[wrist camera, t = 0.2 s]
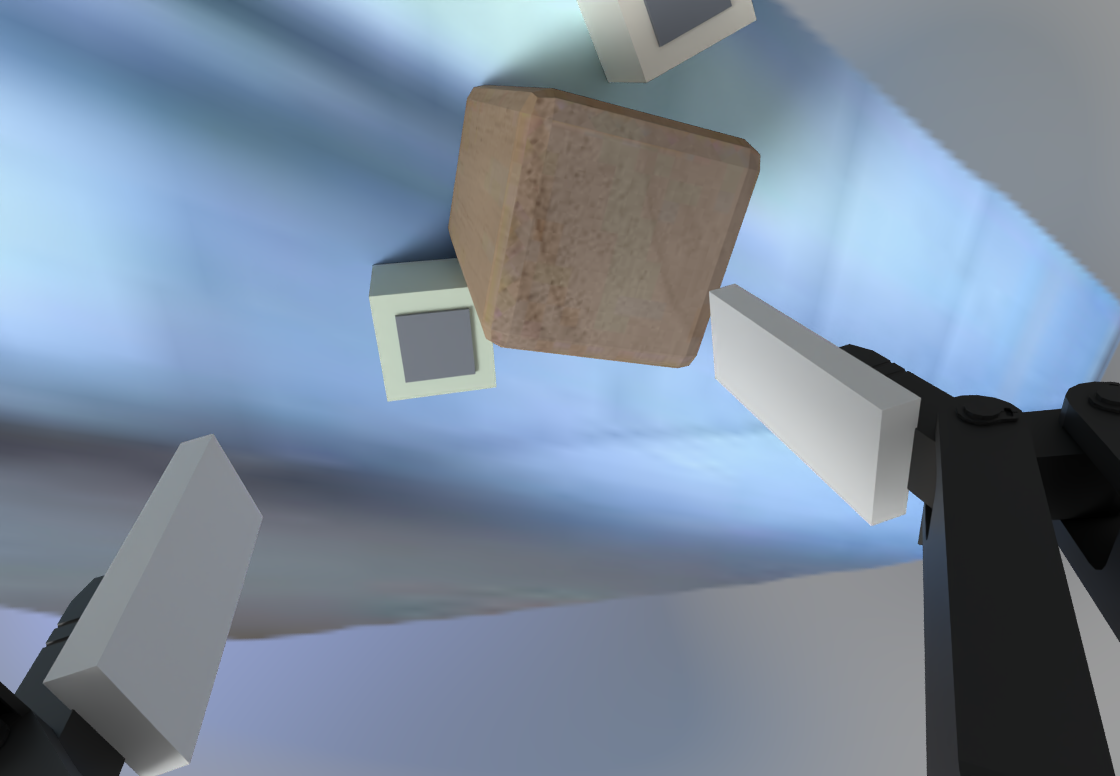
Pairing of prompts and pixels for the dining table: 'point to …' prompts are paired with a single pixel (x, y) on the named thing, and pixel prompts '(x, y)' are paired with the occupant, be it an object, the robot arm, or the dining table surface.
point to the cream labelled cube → (658, 32)
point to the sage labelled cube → (428, 330)
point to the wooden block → (594, 224)
